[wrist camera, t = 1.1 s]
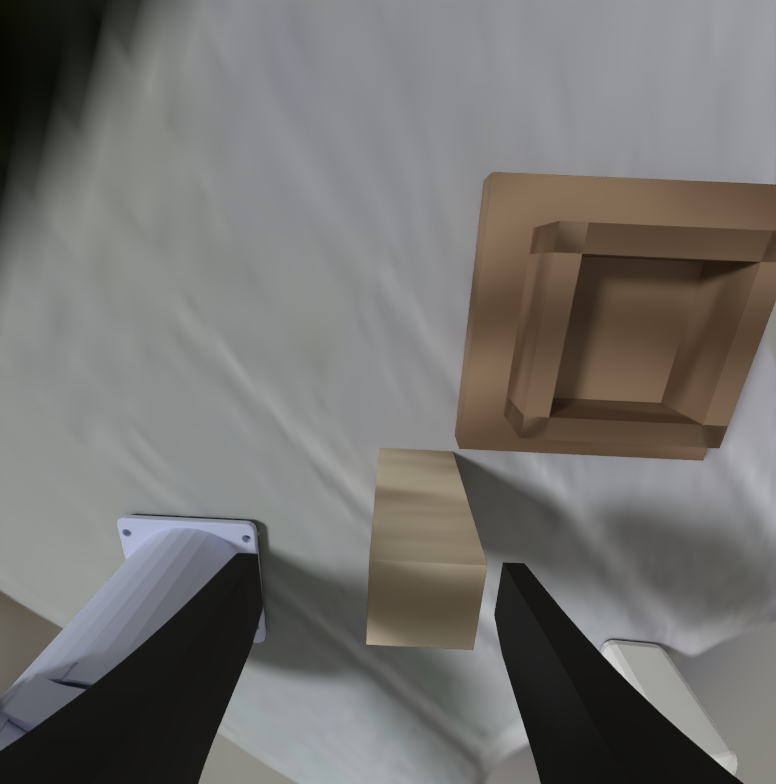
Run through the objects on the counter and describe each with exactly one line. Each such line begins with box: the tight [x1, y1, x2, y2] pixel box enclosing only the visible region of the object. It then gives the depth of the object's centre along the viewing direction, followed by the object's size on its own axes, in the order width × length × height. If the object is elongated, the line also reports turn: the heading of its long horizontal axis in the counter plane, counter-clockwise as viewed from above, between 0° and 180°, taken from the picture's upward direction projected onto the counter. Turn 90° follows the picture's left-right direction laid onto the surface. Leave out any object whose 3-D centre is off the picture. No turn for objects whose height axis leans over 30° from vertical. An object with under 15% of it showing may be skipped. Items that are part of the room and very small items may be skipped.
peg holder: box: [455, 172, 776, 461], centre depth 16 cm, size 12×12×4 cm
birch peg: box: [366, 448, 487, 650], centre depth 17 cm, size 4×4×8 cm
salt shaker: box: [600, 640, 738, 776], centre depth 20 cm, size 4×4×10 cm
